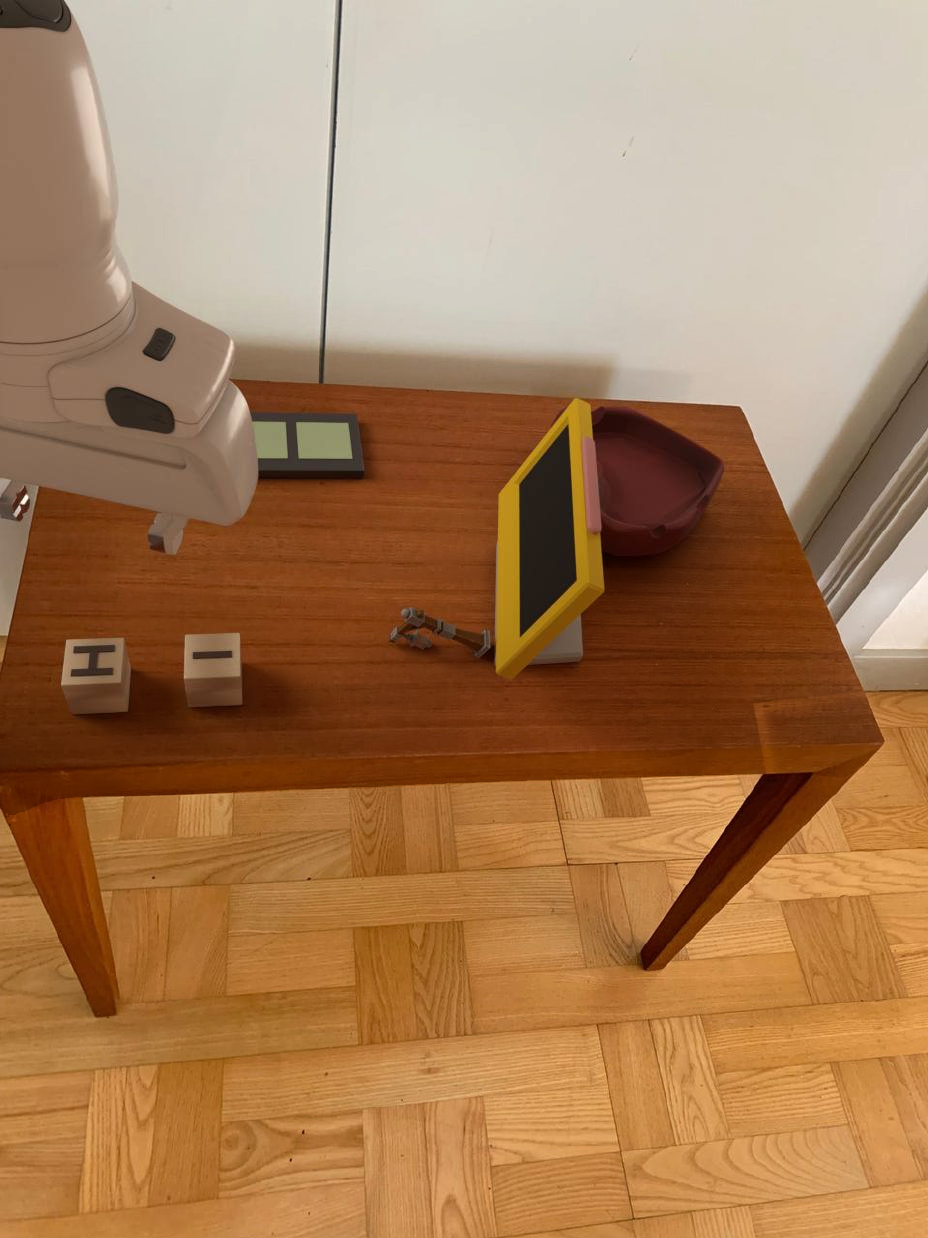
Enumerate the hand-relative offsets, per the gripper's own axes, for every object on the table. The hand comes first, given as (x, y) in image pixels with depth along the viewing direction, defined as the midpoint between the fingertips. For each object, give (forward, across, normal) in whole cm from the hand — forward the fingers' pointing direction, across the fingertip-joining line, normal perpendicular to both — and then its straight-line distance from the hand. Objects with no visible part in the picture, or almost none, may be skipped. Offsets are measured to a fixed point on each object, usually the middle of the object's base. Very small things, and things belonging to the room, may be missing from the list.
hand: (90, 528), depth 56 cm
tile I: (+18, +6, +2) cm, 19 cm away
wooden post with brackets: (+18, +22, +10) cm, 30 cm away
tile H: (+18, -2, -1) cm, 18 cm away
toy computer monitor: (+18, +30, +16) cm, 38 cm away
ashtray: (+18, +38, +32) cm, 53 cm away
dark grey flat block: (+18, +5, +29) cm, 35 cm away
